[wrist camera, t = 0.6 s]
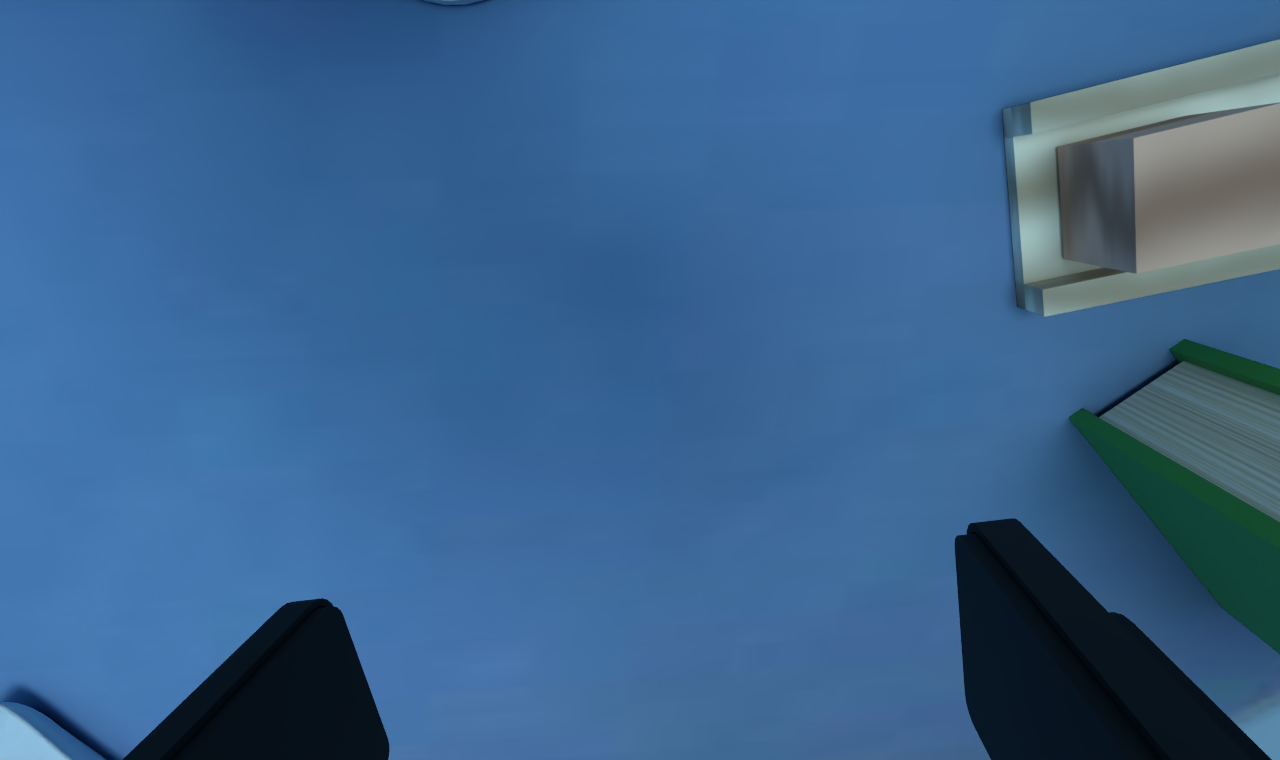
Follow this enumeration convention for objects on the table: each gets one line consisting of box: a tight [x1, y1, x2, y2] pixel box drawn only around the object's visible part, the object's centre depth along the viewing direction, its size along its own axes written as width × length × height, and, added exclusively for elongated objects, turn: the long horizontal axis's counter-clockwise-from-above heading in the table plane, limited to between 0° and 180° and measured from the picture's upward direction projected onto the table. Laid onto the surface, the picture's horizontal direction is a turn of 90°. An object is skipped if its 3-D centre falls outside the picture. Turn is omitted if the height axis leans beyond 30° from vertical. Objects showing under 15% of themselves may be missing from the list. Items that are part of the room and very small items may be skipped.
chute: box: [1002, 39, 1280, 317], centre depth 32 cm, size 11×20×3 cm, turn 104°
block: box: [1058, 102, 1280, 274], centre depth 30 cm, size 6×6×6 cm
